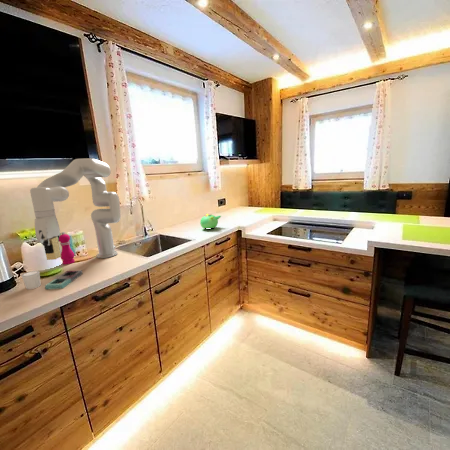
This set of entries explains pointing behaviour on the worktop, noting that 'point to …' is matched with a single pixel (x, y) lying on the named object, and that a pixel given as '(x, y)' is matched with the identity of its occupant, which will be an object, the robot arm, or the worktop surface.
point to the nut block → (54, 249)
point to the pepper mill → (66, 249)
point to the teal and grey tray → (63, 280)
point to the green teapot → (209, 221)
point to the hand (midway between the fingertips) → (52, 251)
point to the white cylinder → (31, 279)
